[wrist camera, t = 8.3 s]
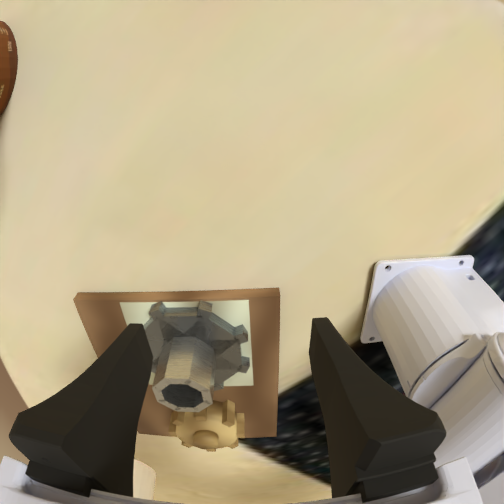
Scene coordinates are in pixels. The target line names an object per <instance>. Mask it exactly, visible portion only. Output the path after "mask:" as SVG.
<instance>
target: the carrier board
mask: <svg viewBox="0 0 504 504" xmlns="http://www.w3.org/2000/svg"><path fill="white" fill-rule="evenodd" d="M73 300H74V303H75V305H76V308H77V310H78V313H79V315H80V318H81V320H82V323H83V325H84V327H85V330H86V332H87V334H88V337H89V339H90V341H91V343H92V346H93V348H94V350H95V352H96V354H97V356H98V358H99V357H100V356H101V355H102V354H103V353H104V352H105V351H106V349H107V348H108V347H109V346H110V345H111V344H112V343H113V342H114V341H115V339H116V338H117V337H118V336H119V335H120V334H121V333H122V331H123V330H124V329H125V328H126V327H127V326H128V325H129V324H130V323H139V324H143V325H144V324H145V323H146V322H147V321H148V320H149V319H150V318H151V316H150V315H149V311H150V308H151V305H152V304H155V303H157V302H160V301H162V302H163V303H164V305H165V306H166V308H167V307H198V306H199V303H200V300H202V301H205V302H209V303H212V304H213V305H212V312H213V313H215V314H216V315H217V316H219V317H220V318H222V319H223V320H225V321H226V322H228V323H229V324H231V325H232V326H234V327H236V326H239V325H242V324H243V325H244V327H245V328H246V330H247V332H248V342H245V343H242V344H241V351H242V356H245V357H249V358H250V367H249V369H248V371H247V373H241V372H237V373H236V374H234V375H233V376H231V377H230V378H229V379H227V380H226V381H224V388H223V389H221V390H217V391H214V394H213V404H211V405H210V406H208V407H206V408H205V409H203V410H202V411H200V412H177V411H175V410H173V409H171V408H169V407H167V406H165V405H163V404H161V403H159V402H158V401H157V399H156V397H155V394H154V392H153V390H152V385H153V381H154V377H155V373H153V372H151V376H150V380H149V384H148V387H147V391H146V395H145V398H144V402H143V406H142V409H141V413H140V417H139V421H138V427H137V431H138V433H140V434H150V435H162V436H175V437H178V438H179V439H180V440H182V445H183V446H186V447H188V448H189V447H191V446H195V447H198V448H201V449H206V450H207V451H216V448H223V447H230V448H232V449H233V448H235V447H237V446H238V438H251V437H273V436H276V432H277V406H278V375H279V335H280V292H279V288H264V289H241V290H213V291H178V292H108V293H77V295H76V296H75V298H74V299H73Z"/></svg>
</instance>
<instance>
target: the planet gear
mask: <svg viewBox="0 0 504 504" xmlns="http://www.w3.org/2000/svg"><path fill="white" fill-rule="evenodd" d="M212 305H213V304H212V303H209V302H205V301H202V300H200V303H199V306H198V307H167V308H166V306H165V305H164V303H163V302H162V301H160V302H157V303H155V304H152V305H151V308H150V311H149V315H150V316H151V318H150V319H149V320H148V321H147V322H146V323H145V324H144V325H143V326H144V330H145V333H146V336H147V339H148V342H149V345H150V348H151V351H152V354H153V362H152V369H151V372H153V373H155V377H154V381H153V385H152V390H153V392H154V394H155V397H156V399H157V401H158V402H159V403H161V404H163V405H165V406H167V407H169V408H171V409H173V410H175V411H177V412H200V411H202V410H203V409H205V408H206V407H208V406H210V405H211V404H213V394H214V391H217V390H221V389H223V388H224V381H226V380H227V379H229V378H230V377H231V376H233V375H234V374H236V373H237V372H241V373H247V371H248V369H249V367H250V358H249V357H245V356H242V351H241V344H242V343H245V342H248V332H247V330H246V328H245V327H244V325H243V324H242V325H239V326H236V327H234V326H232V325H231V324H229V323H228V322H226V321H225V320H223V319H222V318H220V317H219V316H217V315H216V314H215V313H213V312H212Z"/></svg>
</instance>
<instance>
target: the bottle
mask: <svg viewBox="0 0 504 504" xmlns="http://www.w3.org/2000/svg"><path fill="white" fill-rule="evenodd" d="M155 481H156V472H155V471H154V470H153V469H152V468H151V467H150V466H148V465H146V464H145V463H143V462H140V461H138V460H136V459H134V470H133V497H134V498H141V499H147V500H153V497H154V489H155Z"/></svg>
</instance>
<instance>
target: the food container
mask: <svg viewBox="0 0 504 504" xmlns="http://www.w3.org/2000/svg"><path fill="white" fill-rule="evenodd" d="M17 64H18V55H17V46H16V41H15V38H14V35H13V33H12V31H11V29H10V28H9V26H8V25H7V24H6V23H5V22H3V21H0V116H1V115H2V113H3V112H4V110H5V108H6V106H7V104H8V102H9V100H10V97H11V94H12V91H13V88H14V84H15V80H16V74H17Z"/></svg>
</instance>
